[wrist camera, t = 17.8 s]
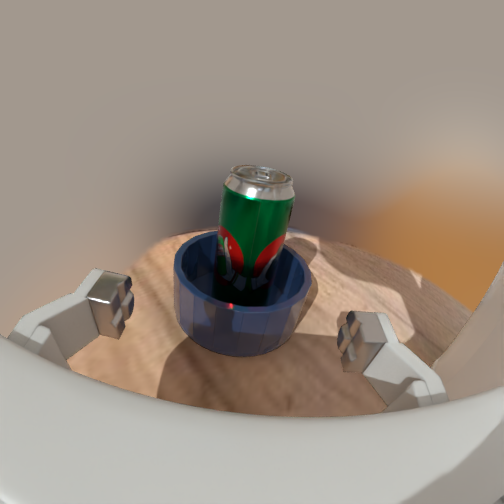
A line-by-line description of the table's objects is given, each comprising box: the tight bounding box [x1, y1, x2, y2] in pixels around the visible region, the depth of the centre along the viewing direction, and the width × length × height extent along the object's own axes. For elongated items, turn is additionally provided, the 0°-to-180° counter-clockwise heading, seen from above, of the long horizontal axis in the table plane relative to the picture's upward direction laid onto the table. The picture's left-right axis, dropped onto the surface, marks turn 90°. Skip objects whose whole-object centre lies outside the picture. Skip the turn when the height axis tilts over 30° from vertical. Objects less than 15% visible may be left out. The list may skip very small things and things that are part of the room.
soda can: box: [211, 165, 295, 307], centre depth 21 cm, size 5×5×12 cm
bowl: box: [174, 231, 312, 357], centre depth 23 cm, size 11×11×5 cm
